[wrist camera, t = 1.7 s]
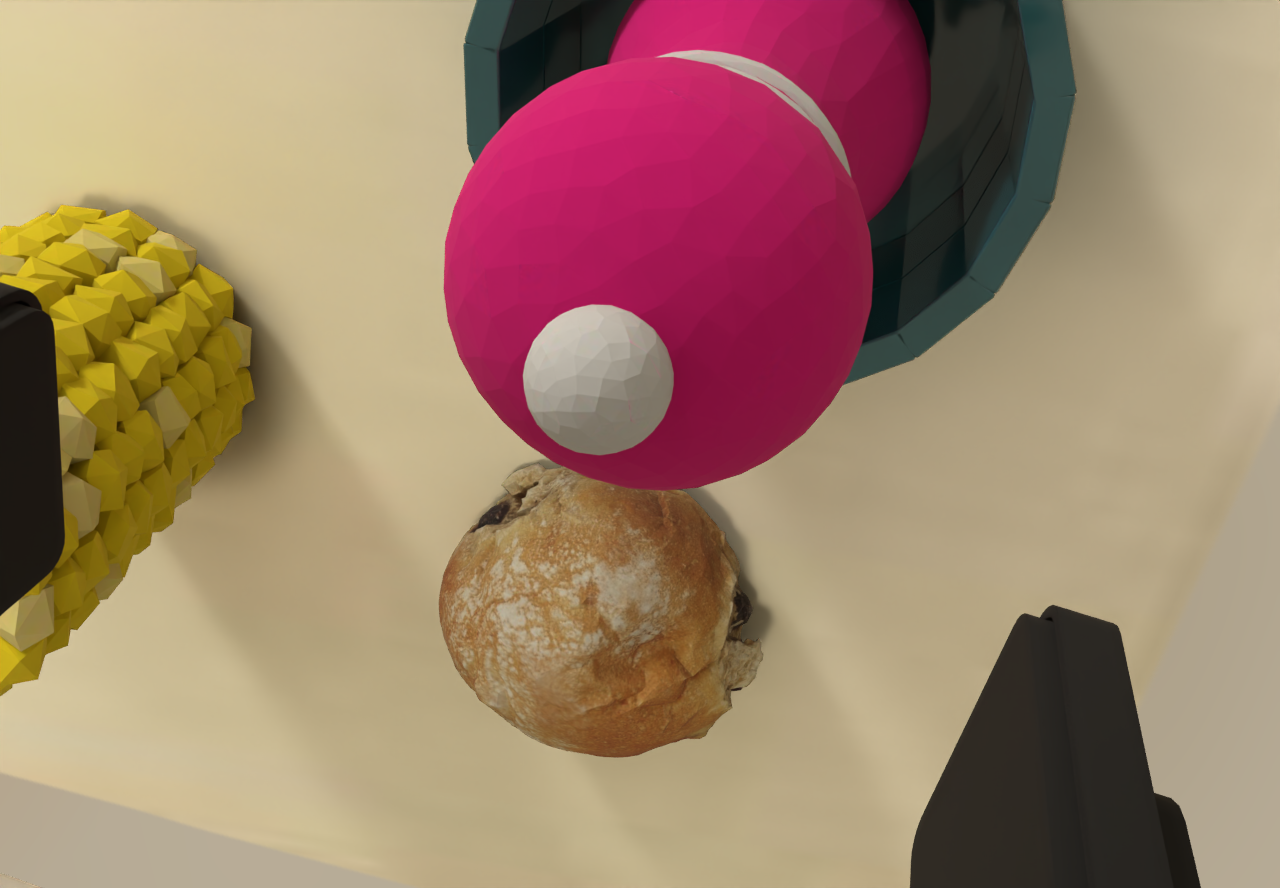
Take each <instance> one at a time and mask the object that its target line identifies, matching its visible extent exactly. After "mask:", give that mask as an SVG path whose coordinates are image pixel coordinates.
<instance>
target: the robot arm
mask: <svg viewBox="0 0 1280 888" xmlns="http://www.w3.org/2000/svg"><path fill="white" fill-rule="evenodd" d="M64 544H65V525H64V505H63V486H62V467H61V447H60V428H59V408H58V389H57V369H56V350H55V330H54V325H53V321H52V319H51V317H50V315H48V314H47V313H46V312H44V311H42V306H41V304H40V302H39V300H38V298H37V296H35V295H34V294H33V293H31V292H30V291H28V290H24V289H21V288H18V287H15V286H11V285H8V284H5V283H2V282H0V616H1V615H2V614H3V613H4V612H6V611H7V610H8V609H9V608H10V607H11V606H13V605H14V604H15V603H16V602H17V601H18V600H20V599H21V598H22V597H23V596H24V595H25V594H27V593H28V592H29V591H30V590H31V589H32V588H34V587H35V586H36V585H37V584H38V583H39V582H41V581H42V580H43V579H44V578H45V577H46V576H47V575H48V574H49V573H50V572H51V571H52V570H53V569H54V567H55V566H56V564H57V563H58V561H59V559H60V557H61V554H62V552H63V548H64ZM0 888H41V887H38V886H36V885H33V884H30V883H27V882H24V881H22V880H19V879H16V878H13V877H10V876H7V875H5V874H2V873H0ZM910 888H1201V886H1200V882H1199V878H1198V874H1197V869H1196V865H1195V860H1194V856H1193V852H1192V848H1191V844H1190V839H1189V835H1188V831H1187V826H1186V822H1185V819H1184V817H1183V814H1182V812H1181V809H1180V807H1179V805H1177V803H1176V802H1174V801H1173V800H1172V799H1171V798H1169V797H1165V796H1162V795H1159V794H1156V793H1154V791H1153V786H1152V781H1151V777H1150V772H1149V768H1148V762H1147V757H1146V753H1145V748H1144V743H1143V738H1142V734H1141V729H1140V724H1139V719H1138V714H1137V709H1136V705H1135V700H1134V695H1133V690H1132V686H1131V681H1130V676H1129V671H1128V666H1127V662H1126V657H1125V652H1124V647H1123V642H1122V638H1121V633H1120V631H1119V628H1118V626H1117V625H1115V624H1113V623H1110V622H1107V621H1104V620H1101V619H1097V618H1094V617H1091V616H1088V615H1084V614H1081V613H1078V612H1075V611H1071V610H1068V609H1065V608H1062V607H1058V606H1055V605H1052V606H1049V607H1048V608H1047V609H1046V610H1045V611H1044V612H1043V613H1042V615H1041V617H1040V618H1038V617H1035V616H1032V615H1029V614H1022V615H1021V616H1020V617H1019V618H1018V620H1017V621H1016V623H1015V625H1014V627H1013V629H1012V631H1011V633H1010V635H1009V637H1008V639H1007V641H1006V643H1005V645H1004V647H1003V649H1002V651H1001V654H1000V656H999V658H998V660H997V662H996V664H995V666H994V668H993V670H992V672H991V674H990V676H989V678H988V680H987V683H986V685H985V687H984V689H983V691H982V693H981V695H980V697H979V699H978V701H977V703H976V705H975V707H974V709H973V712H972V714H971V716H970V718H969V720H968V722H967V724H966V726H965V728H964V730H963V732H962V734H961V736H960V738H959V741H958V743H957V745H956V747H955V749H954V751H953V753H952V755H951V757H950V759H949V761H948V763H947V765H946V767H945V770H944V772H943V774H942V776H941V778H940V780H939V782H938V784H937V786H936V788H935V790H934V792H933V794H932V796H931V799H930V801H929V803H928V805H927V807H926V809H925V811H924V813H923V815H922V817H921V820H920V822H919V825H918V828H917V831H916V835H915V839H914V843H913V849H912V856H911V877H910Z"/></svg>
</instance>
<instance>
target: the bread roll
mask: <svg viewBox="0 0 1280 888" xmlns="http://www.w3.org/2000/svg"><path fill="white" fill-rule="evenodd" d="M502 486H503V487H504V488H505V489H506V490H507V491H508V492H509V494H507V495H506V496H505V497H504V498H502V499H501V500H500V501H499V502H498V503H497V504H496V505H495V506H494V507H492V508H491V509H490V510H489V511H488V512H487V513H486V514H484V515H483V516H482V517H481V519H480V521H479V523H478V524H476V525H473V526H472V527H471V529H470V530H469V531H468V532H467V533H466V534H465V535H464V537H463V538H462V540H461V541H460V543H459V544H458V546H457V547H456V549H455V550H454V552H453V554H452V556H451V558H450V560H449V562H448V565H447V568H446V570H445V572H444V575H443V580H442V585H441V590H440V597H439V614H440V623H441V627H442V630H443V635H444V639H445V641H446V644H447V646H448V650H449V652H450V654H451V657H452V659H453V662H454V664H455V667H456V669H457V670H458V672H459V674H460V675H461V677H462V678H463V679H464V680H465V682H466V683H467V684H468V685H469V686H470V688H472V689H473V690H474V691H475V692H476V695H477V696H478V698H479V700H480V701H481V702H483V703H484V704H486V705H487V706H489V707H490V708H491V709H493V710H494V711H495V712H496V713H498V714H499V715H500V716H501V717H503V718H504V719H505V720H506V721H508V722H509V723H510V724H511V725H512V726H514V727H516V728H518V729H519V730H520V731H522V732H523V733H524V734H525V735H527V736H529V737H530V738H532V739H535V740H537V741H539V742H541V743H544V744H546V745H548V746H551V747H555V748H558V749H562V750H566V751H572V752H578V753H584V754H590V755H595V756H602V757H629V756H635V755H639V754H642V753H644V752H647V751H649V750H652V749H654V748H657V747H660V746H663V745H666V744H669V743H673V742H677V741H680V740H682V739H687V738H689V739H700V738H702V737H704V736H706V734H707V732H708V730H709V729H710V728H711V727H712V726H713V724H714V723H715V721H716V720H717V719H718V718H719V717H720V716H721V715H723V714H724V713H725V712H727V711H728V710H730V709H731V708H732V704H731V691H737V690H741V689H742V688H743V687H747V686H748V685H749V684H750V683H751V682H752V680H753V679H754V678H755V676H756V672H757V668H758V666H759V664H760V662H761V661H762V660H763V653H762V651H761V641H760V639H759V638H758V639H757V640H756V642H755V641H753V640H750V639H746V640H745V641H744V642H743V641H742V640H741V630H742V625H743V624H745V623H747V621H748V619H749V617H750V616H751V614H752V611H753V607H752V605H751V603H750V600H749V599H748V597H747V596H746V595H745V594H744V593H743V592H742V590H741V589H740V587H739V585H738V576H739V573H740V565H739V561H738V559H737V557H736V555H735V553H734V551H733V550H732V549H731V547H730V546H729V544H728V543H727V541H726V534H725V532H723V531H721V530H720V529H719V528H718V526H717V525H716V524H715V522H714V521H713V520H712V519H711V518H710V517H709V516H708V514H707V513H706V512H705V511H704V509H703V508H702V507H701V506H700V505H699V504H698V503H697V502H696V501H695V500H694V499H693V498H692V497H691V496H690V495H689V494H688V493H686V492H684V491H680V490H665V491H660V490H645V489H630V488H625V487H621V486H617V485H613V484H610V483H606V482H602V481H598V480H595V479H591V478H588V477H586V476H583V475H581V474H579V473H577V472H575V471H572V470H570V469H568V468H566V467H564V466H562V467H560V468H555V469H546V468H545V467H543V466H541V464H540V463H537V464H533V465H531V466H528V467H526V468H523V469H521V470H518V471H516V472H514V473H512V474H511V475H510V476H509V477H508V478H507V479H506V481H505V482H504V483H503V484H502Z"/></svg>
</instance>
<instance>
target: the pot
mask: <svg viewBox="0 0 1280 888" xmlns="http://www.w3.org/2000/svg"><path fill="white" fill-rule="evenodd" d="M633 1H634V0H476V4H475V7H474V10H473V13H472V17H471V20H470V23H469V27H468V30H467V33H466V36H465V42H466V43H464V70H465V97H466V123H467V144H468V145H469V146H468V149H469V152H470V154H471V157H472V160H473V162H474V164H475V162H476V161H477V159H478V157H479V156H480V154H481V153H482V151H483V149H484V148H485V146H486V145H487V144H488V142H489V141H490V140H491V139H492V138H493V137H494V136H495V134H496V133H497V132H498V131H499V130H500V129H501V128H502V126H503V125H504V124H505V123H506V122H507V121H508V120H509V119H510V117H511V116H512V115H513V114H514V113H516V112H517V111H518V110H520V109H521V108H522V107H524V106H525V105H526V104H528V103H529V102H530V101H532V100H533V99H534V98H536V97H537V96H538V95H540V94H541V93H542V92H544V91H545V90H546V89H548V88H549V87H550V86H552V85H554V84H557V83H559V82H561V81H563V80H565V79H567V78H569V77H571V76H573V75H575V74H577V73H579V72H581V71H584V70H588V69H592V68H596V67H600V66H604V65H607V61H608V56H609V51H610V48H611V45H612V43H613V40H614V37H615V35H616V32H617V29H618V27H619V25H620V23H621V21H622V20H623V18H624V16H625V14H626V13H627V11H628V9H629V7H630V5H631V4H632V2H633ZM908 1H909V3H910V5H911V6H912V8H913V10H914V11H915V13H916V16H917V19H918V21H919V24H920V26H921V29H922V31H923V34H924V37H925V41H926V46H927V51H928V56H929V61H930V66H931V103H930V109H929V114H928V120H927V126H926V129H925V132H924V135H923V138H922V141H921V144H920V147H919V150H918V152H917V155H916V157H915V160H914V162H913V165H912V166H911V168H910V170H909V172H908V174H907V176H906V177H905V179H904V181H903V183H902V185H901V187H900V188H899V189H898V191H897V192H896V193H895V194H894V196H893V197H892V198H891V200H890V201H889V202H888V203H887V205H886V206H885V207H884V208H883V209H882V210H881V211H880V212H879V213H878V214H877V215H876V216H875V217H874V218H872V219H871V220H870V221H869V222H868V223H867V225H868V228H869V232H870V240H871V251H872V263H873V285H872V304H871V309H870V313H869V317H868V321H867V325H866V328H865V332H864V336H863V340H862V344H861V346H860V349H859V351H858V354H857V356H856V359H855V361H854V363H853V366H852V368H851V371H850V373H849V376H848V377H847V379H846V380H845V382H844V383H843V385H845V384H847V383H850V382H853V381H856V380H858V379H861V378H864V377H867V376H870V375H872V374H875V373H878V372H881V371H884V370H886V369H889V368H892V367H895V366H898V365H900V364H903V363H906V362H909V361H911V360H914V359H915V357H916V358H917V357H919V356H921V355H922V354H923V353H924V352H926V351H927V350H928V349H929V348H931V347H932V346H933V345H934V344H936V343H937V342H938V341H939V340H941V339H942V338H943V337H944V336H946V335H947V334H948V333H950V332H951V331H952V330H953V329H955V328H956V327H957V326H958V325H960V324H961V323H962V322H963V321H965V320H966V319H967V318H968V317H970V316H971V315H972V314H973V313H975V312H976V311H977V310H978V309H980V308H981V307H982V306H983V305H985V304H986V303H987V302H988V301H990V300H991V299H992V298H993V297H994V296H995V293H997V292H998V291H999V290H1000V288H1001V286H1002V285H1003V283H1004V282H1005V280H1006V279H1007V277H1008V275H1009V274H1010V272H1011V271H1012V269H1013V267H1014V266H1015V264H1016V263H1017V261H1018V259H1019V258H1020V256H1021V255H1022V253H1023V251H1024V250H1025V248H1026V247H1027V245H1028V243H1029V242H1030V240H1031V239H1032V237H1033V235H1034V234H1035V232H1036V231H1037V229H1038V228H1039V226H1040V224H1041V223H1042V221H1043V220H1044V218H1045V216H1046V215H1047V213H1048V212H1049V210H1050V208H1051V203H1052V202H1053V200H1054V199H1055V194H1056V189H1057V185H1058V180H1059V175H1060V170H1061V166H1062V161H1063V156H1064V152H1065V147H1066V142H1067V138H1068V133H1069V128H1070V124H1071V119H1072V114H1073V110H1074V105H1075V100H1076V96H1075V94H1076V92H1077V89H1076V82H1075V76H1074V69H1073V63H1072V56H1071V50H1070V43H1069V37H1068V30H1067V24H1066V17H1065V11H1064V4H1063V0H908Z"/></svg>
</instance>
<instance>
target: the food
mask: <svg viewBox="0 0 1280 888" xmlns="http://www.w3.org/2000/svg"><path fill="white" fill-rule="evenodd" d="M157 229H158V228H156V227H155V226H153V225H151V224H150V223H148V222H147V221H145V220H144V219H142V218H141V217H139V216H138V215H136V214H135V213H133V212H132V211H130V210H129V209H128V210H125V211H122V212H119V213H116V214H113V215H110V216H107V217H106V211H105V210H97V209H90V208H82V207H74V206H66V205H61V206H60V208H59V209H58V210H57V212H56V213H55V215H51V214H50V213H48V212H46V213H45V214H43V215H41V216H39V217H37V218H35V219H33V220H31V221H29V222H28V223H26V224H24V225H22V226H20V227H16V226H4V227H3V228H2V229H1V230H0V282H2V283H5V284H8V285H11V286H15V287H18V288H21V289H24V290H28V291H30V292H31V293H33V294H34V295H35V296H37V298H38V300H39V302H40V304H41V306H42V311H44V312H46V313H47V314H48V315H50V317H51V319H52V321H53V325H54V330H55V350H56V369H57V389H58V408H59V428H60V447H61V467H62V486H63V505H64V525H65V544H64V548H63V552H62V554H61V557H60V559H59V561H58V563H57V564H56V566H55V567H54V569H53V570H52V571H51V572H50V573H49V574H48V575H47V576H46V577H45V578H44V579H43V580H42V581H41V582H39V583H38V584H37V585H36V586H35V587H34V588H32V589H31V590H30V591H29V592H28V593H27V594H25V595H24V596H23V597H22V598H21V599H20V600H18V601H17V602H16V603H15V604H14V605H13V606H11V607H10V608H9V609H8V610H7V611H6V612H4V613H3V614H2V615H1V616H0V696H1V695H3V694H4V693H5V692H7V691H8V690H10V689H11V688H12V684H15V683H21V682H26V681H31V680H36V679H38V677H39V674H40V670H41V667H42V664H43V661H44V657H45V655H46V654H48V653H51V652H53V651H55V650H58V649H60V648H63V647H65V646H68V642H69V636H70V630H71V629H73V630H78V628H79V627H80V626H81V625H82V624H83V622H84V621H85V620H86V619H87V618H88V617H89V615H90V614H91V613H92V612H93V611H94V609H95V608H96V607H97V606H98V605H99V604H100V602H99V600H104V599H108V597H109V596H110V595H111V594H112V592H113V591H114V590H115V589H116V587H117V586H118V585H119V584H120V582H121V581H122V580H123V577H125V575H126V572H127V570H128V567H129V564H130V561H131V559H132V556H133V555H136V554H139V553H141V552H142V551H143V550H144V549H146V548H147V547H148V546H150V543H151V537H152V532H160V531H163V530H164V529H165V528H167V527H168V526H169V525H171V524H172V523H173V519H174V509H175V508H176V507H177V506H179V505H181V504H182V503H184V502H185V501H187V500H189V499H190V498H191V486H194V485H196V484H197V483H198V481H199V480H200V479H201V478H202V477H203V476H204V475H205V474H206V473H207V472H208V471H209V470H210V469H211V468H212V467H213V466H214V465H215V463H214V460H213V457H215V456H217V455H220V454H222V452H223V450H224V449H225V447H226V446H227V444H228V442H229V441H230V439H231V438H233V437H234V436H235V435H237V434H238V433H240V432H241V431H242V410H243V407H244V405H245V404H247V403H249V402H251V401H253V400H255V396H254V390H253V385H252V380H251V375H250V372H249V371H248V369H247V368H246V366H250V352H251V332H252V328H250V327H248V326H246V325H244V324H242V323H239V322H237V321H235V320H233V319H232V318H233V307H234V299H233V288H232V287H231V285H230V284H229V283H228V282H227V281H226V280H225V279H224V278H223V277H221V276H220V275H218V274H216V273H214V272H213V271H211V270H209V269H207V268H206V267H204V266H202V265H200V264H198V265H197V266H196V254H197V250H196V249H194V248H193V247H191V246H189V245H188V244H186V243H185V242H183V241H181V240H180V239H178V238H177V237H175V236H174V235H172V234H168V233H165V232H162V231H157Z"/></svg>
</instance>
